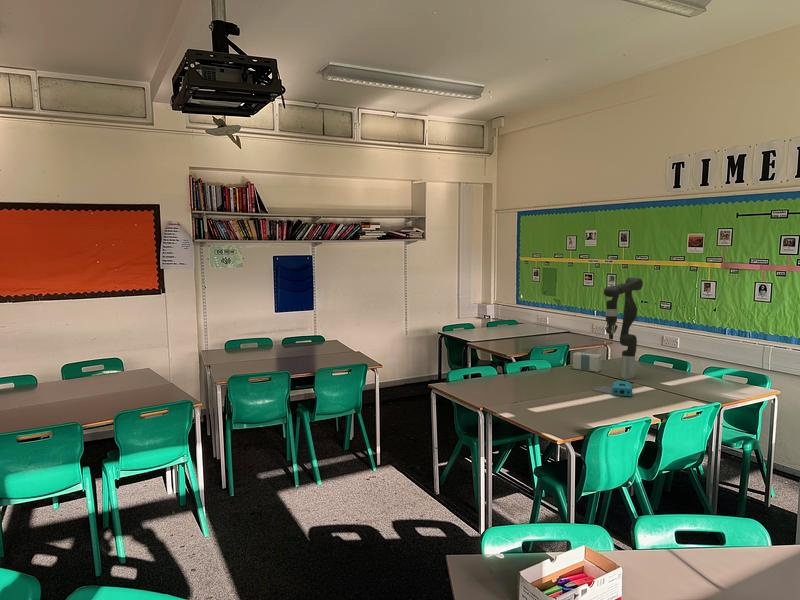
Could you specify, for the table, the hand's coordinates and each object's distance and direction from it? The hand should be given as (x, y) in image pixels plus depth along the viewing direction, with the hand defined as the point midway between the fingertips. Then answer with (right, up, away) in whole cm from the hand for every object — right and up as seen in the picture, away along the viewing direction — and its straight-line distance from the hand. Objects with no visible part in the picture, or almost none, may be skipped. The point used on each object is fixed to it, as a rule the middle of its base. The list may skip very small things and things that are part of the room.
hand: (611, 339), depth 395 cm
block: (+4, -31, -10) cm, 33 cm away
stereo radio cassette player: (-1, -29, +48) cm, 56 cm away
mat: (-6, -35, -14) cm, 38 cm away
